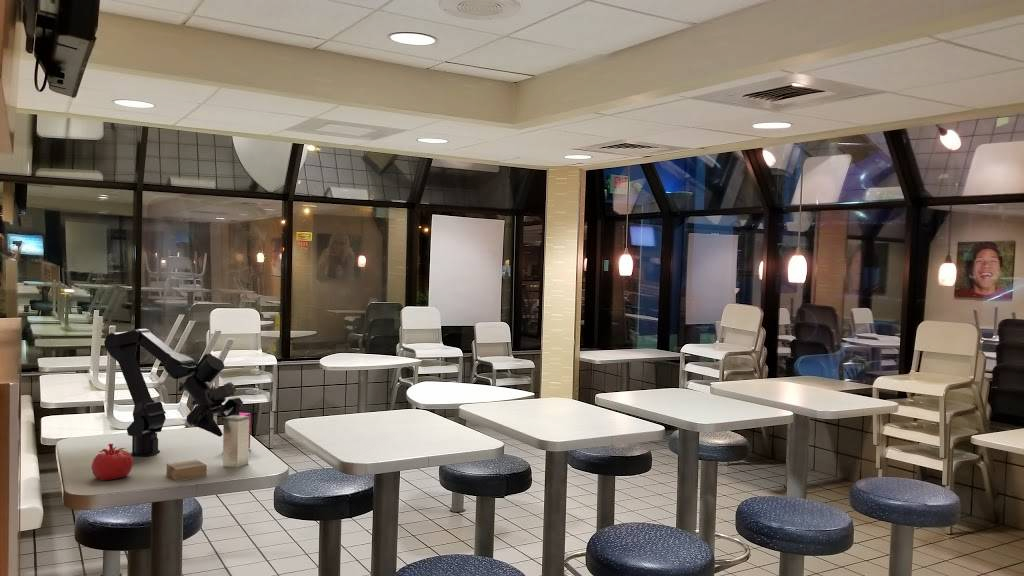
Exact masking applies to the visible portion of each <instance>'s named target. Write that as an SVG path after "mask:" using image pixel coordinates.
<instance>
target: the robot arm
mask: <svg viewBox="0 0 1024 576" xmlns="http://www.w3.org/2000/svg"><path fill="white" fill-rule="evenodd" d="M103 342H104V343H103V344H104V347H105V349H106V350H107V351H106V352H108V354H109V356H110V357H112V358H113V359H114V360H115V361H116V362H117V363H118V364H119V365H118V366H119V367H120V370H121V373H122V375H123V379H124V381H125V384H126V386H127V388H128V391H129V395H130V396H131V399H132V402H133V410H132V418H133V421H132V423H130V424H129V426H128V427H127V428H126V432H127V436H130V437H132V438H131V441H132V442H131V452H129V453H130V454H131V456H133V457H134V456H137V457H150V456H152V455H155V454H158V453H160V452H161V450H159V438H158V433H161V432H162V429H163V426H164V424H165V421H166V413H167V412H166V411H165V410H164V407H163V406H164V405H163V404H162V402H161V401H155V400H153V398H152V396H151V393H150V391H149V388H148V385H147V384H146V381H145V379H144V376H143V373H142V370H141V367H140V365H139V362H138V360H137V357H136V356H137V355H136V354H137V351H138V345H139V346H140V347H142V348H143V349H144V350H146V352H148V353H149V354H150V355H152V356H153V357H154V358H155V359H157V361H159V362H161V364H162V365H163V367H164V368H163V369H164V370H165V372H166V373H167V374H168V375H169V376H170V378H171V379H174V380H179V379H185V380H184V381H180V382H179V387H178V392H179V393H181V392H187V393H188V395H189V396H190V397H191V399H192V400H193V401H192V402H191V404H192V405H193V406H194V408H193V409H191V411H190V412H189V413H188V414H187V415H186V422H187V423H188V425H189V426H190V427H191V426H194V427H195V428H199V429H202V430H204V431H206V432H208V433H211V434H213V435H215V436H217V437H222V436H223V431H222V430H221V428H220V427H219V425H218V424H217V422H216V421H215V420H214V415H216V414H220V415H221V416H222V417H223V418H224V417H228V416H232V415H240V414H239V412H240V410H241V408H242V405H243V404H244V402H243V400H242V399H241V398H240V397H232V398H229V399H226V398H228V397H230V396H234V395H236V394H235V392H236V391H237V388H236V385H235V384H234V383H232V382H227V383H224V384H223V385H221V386H219V387H216V388H215V387H210V384H208V383H213V381H214V380H215V379H216V378H217V377H218V376H219V375H220V374H221V372H222V371H223V370H224V368H225V364H224V362H223V360H222V359H219V358H218V357H216V356H213V355H212V353H209V352H208V353H205V354H203V356H202V358H201V359H200V360H199V361H198V362H196V360H195V359H193V358H191V357H190V356H188V355H186V354H183V353H180V352H177V351H175V350H174V349H172V348H171V347H170V346H168V345H167V344H166V343H165V342H164V341H162V340H161V339H159V338H158V337H157V336H155V335H154V334H153V333H152V331H151V330H150V329H148V328H137V329H136V328H134V329H133V330H130V331H120V332H119V331H117V332H111V333H108V334H106V336H105V339H104V341H103Z"/></svg>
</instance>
